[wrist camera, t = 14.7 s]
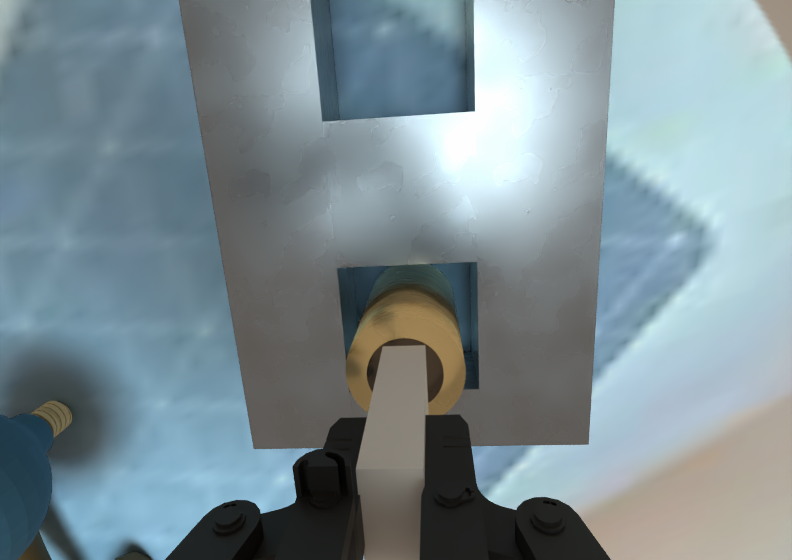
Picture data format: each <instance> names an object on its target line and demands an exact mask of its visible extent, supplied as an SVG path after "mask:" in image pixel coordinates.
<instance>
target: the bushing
mask: <svg viewBox="0 0 792 560" xmlns="http://www.w3.org/2000/svg"><path fill="white" fill-rule="evenodd" d="M414 345H425V348H426V369H427V390H428V411H429V415H444V414H445V413H446V412H448V411H449V410H450V409H451V408H452V407H453V406H454V405H455V403H456V402H457V400H458V399H459V397H460V395H461V393H462V391H463V388H464V384H465V378H466V368H465V361H464V354H463V348H462V342H461V336H460V329H459V323H458V317H457V310H456V304H455V298H454V293H453V289H452V286H451V284H450V282H449V281H448V279H447V278H446V276H445V275H444V274H443V273H442V272H441V271H439V270H438V269H437V268H435V267H433V266H432V265H429V264H415V265H393V266H391V267H389V268H387V269H386V270H385V271H384V272H383V273H381V275H380V276H379V277H378V278H377V280H376V281H375V283H374V285H373V288H372V291H371V293H370V296H369V299H368V301H367V304H366V307H365V310H364V312H363V315H362V318H361V320H360V323H359V326H358V329H357V331H356V334H355V337H354V340H353V342H352V345H351V348H350V350H349V353H348V357H347V360H346V380H347V384H348V387H349V390H350V392H351V394H352V396H353V397H354V399H355V400H356V402H357V403H358V404H359V405H360V406H361V407H362V408H363V409H364V410H365V411H366V412H367V413H368V411H369V406H370V402H371V397H372V393H373V388H374V384H375V379H376V375H377V370H378V365H379V361H380V356H381V352H382V347H383V346H414Z"/></svg>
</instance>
